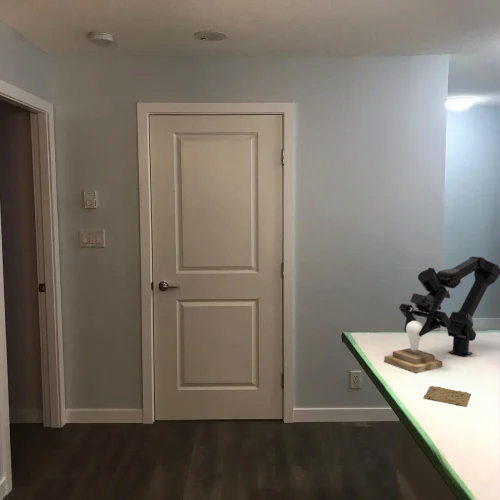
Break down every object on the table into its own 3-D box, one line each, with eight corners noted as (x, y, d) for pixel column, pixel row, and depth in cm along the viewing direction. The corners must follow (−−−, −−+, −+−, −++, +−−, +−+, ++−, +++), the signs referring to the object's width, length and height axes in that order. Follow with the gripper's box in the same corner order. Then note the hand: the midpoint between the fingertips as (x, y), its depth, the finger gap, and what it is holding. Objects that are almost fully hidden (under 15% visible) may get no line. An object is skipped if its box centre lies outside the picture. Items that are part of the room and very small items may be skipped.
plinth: (410, 356, 188) (410, 345, 188) (442, 366, 176) (443, 355, 176) (384, 361, 181) (384, 350, 180) (416, 373, 169) (416, 361, 168)
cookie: (467, 409, 141) (467, 405, 141) (422, 399, 147) (422, 396, 147) (472, 395, 151) (472, 392, 151) (430, 387, 157) (430, 384, 157)
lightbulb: (426, 351, 178) (427, 321, 177) (417, 355, 174) (419, 323, 173) (410, 347, 182) (411, 318, 181) (401, 351, 178) (403, 320, 177)
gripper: (403, 281, 186) (381, 314, 181) (447, 289, 170) (424, 325, 165) (416, 300, 191) (395, 332, 186) (460, 309, 175) (438, 345, 170)
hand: (412, 333), depth 177 cm, fingers closed on lightbulb, 6 cm apart
